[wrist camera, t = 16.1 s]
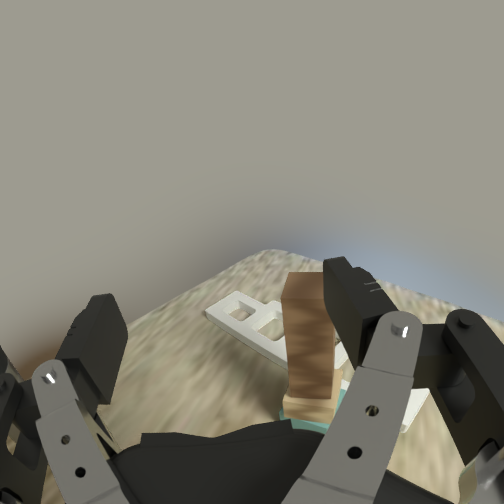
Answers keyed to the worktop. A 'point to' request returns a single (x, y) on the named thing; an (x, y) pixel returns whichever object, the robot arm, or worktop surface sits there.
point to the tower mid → (314, 404)
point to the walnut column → (308, 336)
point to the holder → (282, 339)
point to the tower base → (308, 424)
